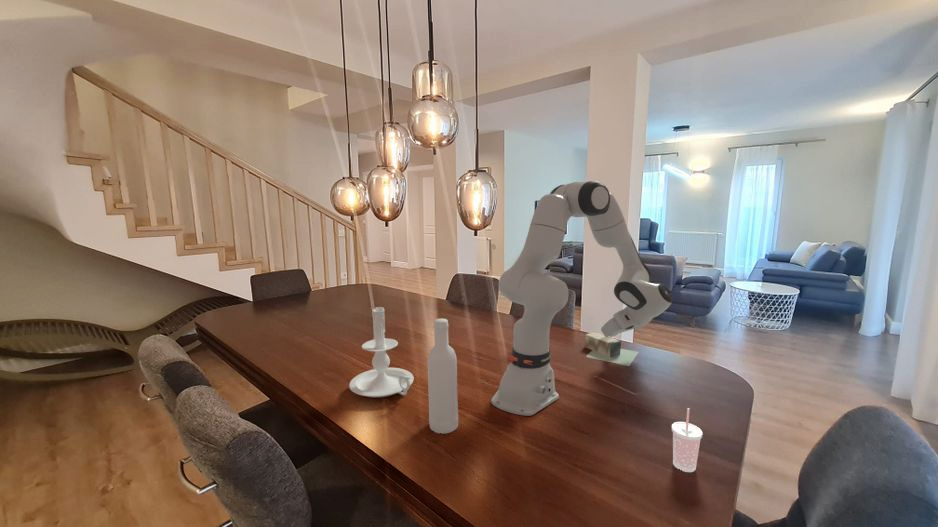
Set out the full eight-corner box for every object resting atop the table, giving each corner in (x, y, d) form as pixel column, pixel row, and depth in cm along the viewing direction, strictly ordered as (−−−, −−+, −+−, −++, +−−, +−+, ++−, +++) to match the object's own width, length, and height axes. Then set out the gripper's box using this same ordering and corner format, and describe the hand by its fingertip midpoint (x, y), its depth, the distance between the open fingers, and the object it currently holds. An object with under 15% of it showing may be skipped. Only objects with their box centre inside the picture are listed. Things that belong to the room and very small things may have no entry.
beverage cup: (666, 454, 92) (670, 400, 90) (695, 459, 90) (699, 403, 88) (672, 471, 86) (676, 413, 84) (703, 476, 85) (708, 417, 83)
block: (620, 341, 151) (594, 332, 162) (611, 343, 148) (585, 334, 159) (620, 354, 152) (593, 344, 163) (611, 357, 149) (584, 347, 160)
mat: (629, 367, 141) (629, 366, 141) (585, 357, 150) (585, 356, 150) (638, 353, 154) (638, 352, 154) (598, 345, 163) (598, 344, 163)
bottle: (461, 431, 103) (459, 323, 98) (432, 436, 101) (428, 326, 96) (454, 415, 111) (451, 314, 106) (427, 420, 108) (423, 317, 104)
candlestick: (383, 418, 110) (377, 323, 106) (337, 391, 126) (331, 308, 122) (435, 391, 125) (432, 307, 121) (388, 370, 141) (385, 296, 137)
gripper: (647, 304, 149) (623, 323, 158) (612, 313, 138) (589, 332, 148) (657, 318, 145) (632, 336, 155) (622, 329, 135) (598, 347, 144)
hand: (611, 334), depth 151 cm, fingers closed
